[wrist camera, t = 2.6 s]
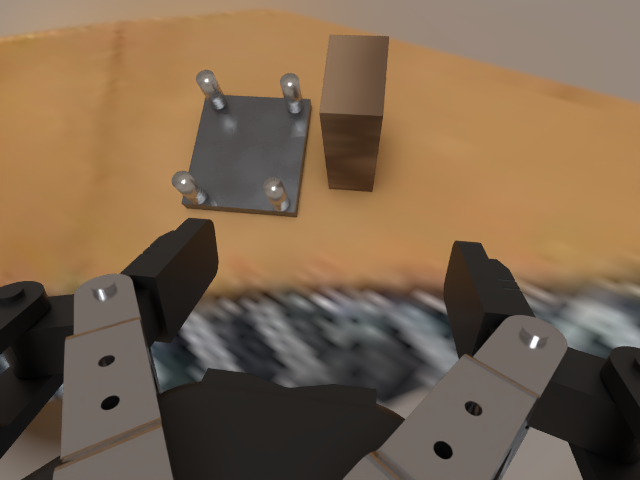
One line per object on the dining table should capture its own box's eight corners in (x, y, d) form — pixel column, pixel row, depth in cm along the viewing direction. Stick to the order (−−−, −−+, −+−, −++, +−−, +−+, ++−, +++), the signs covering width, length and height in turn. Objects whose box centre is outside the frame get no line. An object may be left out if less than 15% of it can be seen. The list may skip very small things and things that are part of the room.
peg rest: (186, 208, 30) (163, 187, 26) (210, 101, 33) (191, 69, 29) (296, 216, 29) (288, 197, 25) (311, 106, 32) (306, 74, 28)
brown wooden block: (329, 188, 30) (319, 112, 20) (335, 131, 31) (329, 34, 22) (372, 191, 29) (383, 115, 20) (376, 133, 31) (389, 36, 21)
